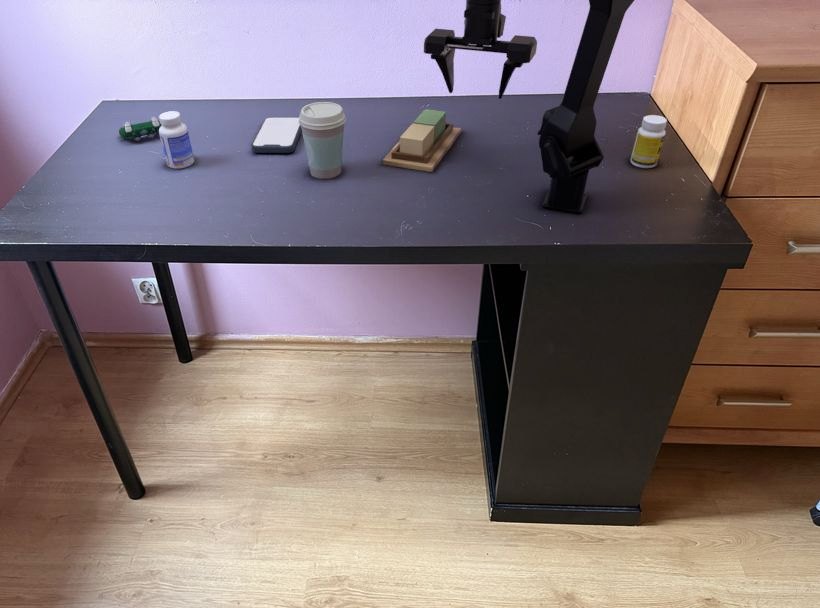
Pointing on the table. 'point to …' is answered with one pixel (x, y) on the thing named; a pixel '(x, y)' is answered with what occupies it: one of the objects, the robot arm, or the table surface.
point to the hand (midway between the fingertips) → (475, 95)
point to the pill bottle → (175, 140)
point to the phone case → (277, 135)
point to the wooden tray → (432, 156)
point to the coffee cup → (323, 137)
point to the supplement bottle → (649, 142)
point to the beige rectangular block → (417, 140)
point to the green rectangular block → (433, 121)
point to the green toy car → (140, 129)
